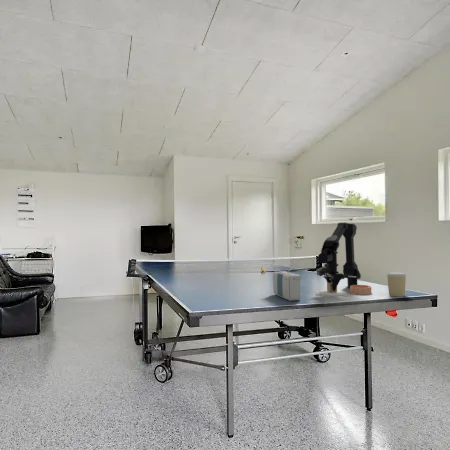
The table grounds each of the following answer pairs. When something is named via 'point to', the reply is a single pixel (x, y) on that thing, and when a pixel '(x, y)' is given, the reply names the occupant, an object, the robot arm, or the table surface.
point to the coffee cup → (396, 283)
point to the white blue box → (287, 285)
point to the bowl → (360, 289)
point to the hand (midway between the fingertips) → (332, 290)
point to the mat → (332, 296)
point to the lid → (331, 291)
